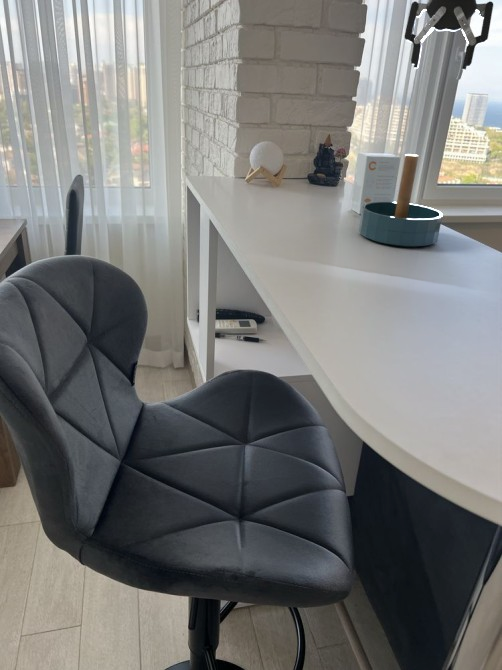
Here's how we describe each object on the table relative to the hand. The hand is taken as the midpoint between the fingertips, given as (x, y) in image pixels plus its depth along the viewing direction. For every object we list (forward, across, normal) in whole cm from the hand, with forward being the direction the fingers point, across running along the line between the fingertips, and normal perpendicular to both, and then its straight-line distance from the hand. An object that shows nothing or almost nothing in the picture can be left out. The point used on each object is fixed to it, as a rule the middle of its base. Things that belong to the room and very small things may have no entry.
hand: (439, 68), depth 94 cm
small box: (+30, +10, -12) cm, 34 cm away
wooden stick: (+30, +2, +9) cm, 31 cm away
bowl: (+30, +2, +9) cm, 31 cm away
